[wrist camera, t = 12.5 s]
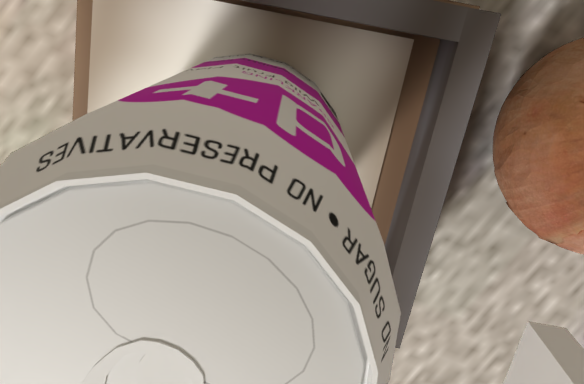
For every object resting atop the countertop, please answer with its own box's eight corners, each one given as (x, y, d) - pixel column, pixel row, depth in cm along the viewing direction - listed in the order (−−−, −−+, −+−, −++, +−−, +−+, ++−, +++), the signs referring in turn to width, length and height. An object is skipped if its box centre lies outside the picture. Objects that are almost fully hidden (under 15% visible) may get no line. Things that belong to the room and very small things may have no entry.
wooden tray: (451, 8, 24) (504, 5, 18) (377, 282, 29) (397, 354, 23) (116, -58, 23) (49, -86, 17) (98, 234, 28) (41, 294, 22)
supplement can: (216, 11, 20) (11, -7, 6) (379, 126, 21) (533, 335, 7) (121, 171, 22) (-191, 437, 8) (275, 265, 24) (237, 631, 10)
